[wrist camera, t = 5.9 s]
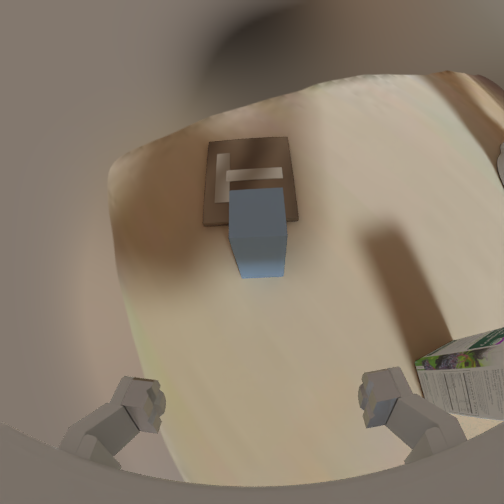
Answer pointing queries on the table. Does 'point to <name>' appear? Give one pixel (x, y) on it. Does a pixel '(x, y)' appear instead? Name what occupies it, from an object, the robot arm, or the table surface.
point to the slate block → (258, 231)
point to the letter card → (247, 174)
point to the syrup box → (466, 376)
